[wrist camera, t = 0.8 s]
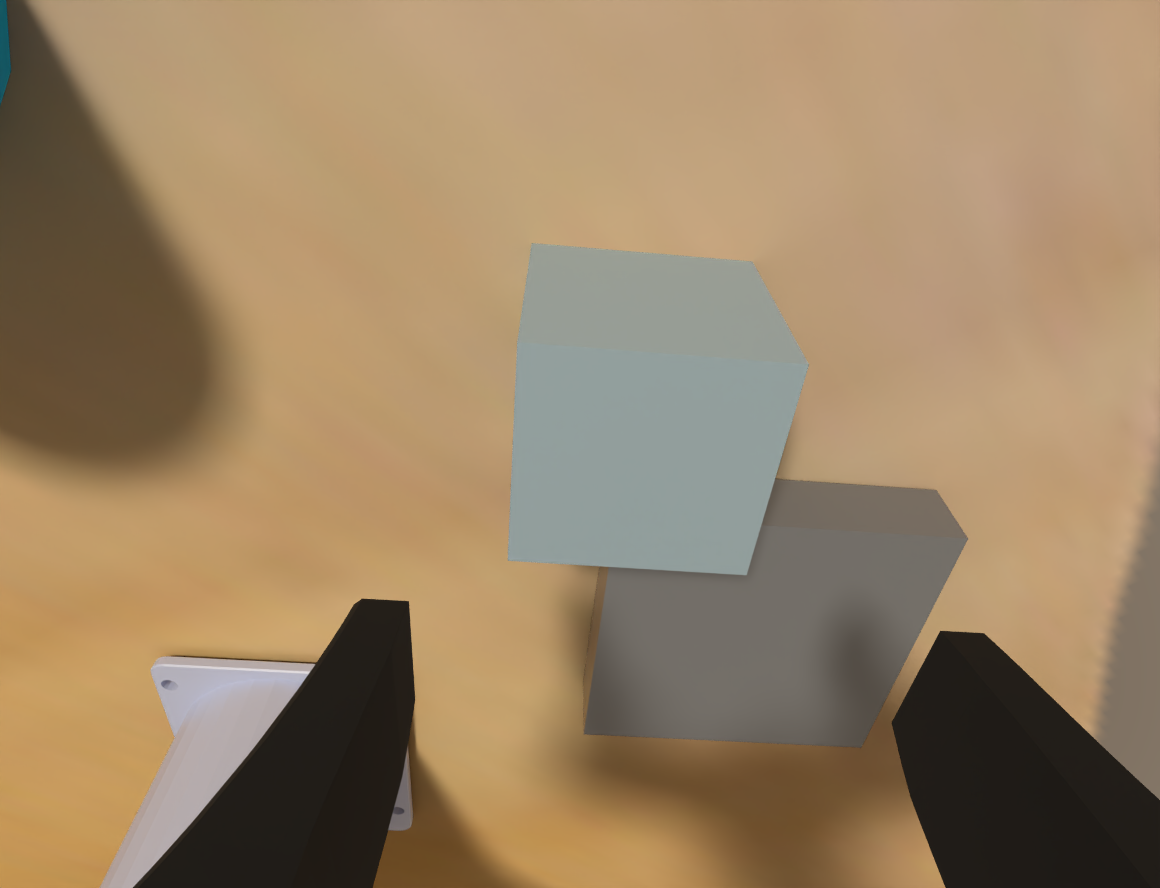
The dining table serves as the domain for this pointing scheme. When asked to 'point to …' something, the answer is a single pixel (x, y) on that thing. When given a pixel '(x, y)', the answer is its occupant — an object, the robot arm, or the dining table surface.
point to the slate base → (775, 623)
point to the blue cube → (647, 410)
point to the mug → (4, 49)
